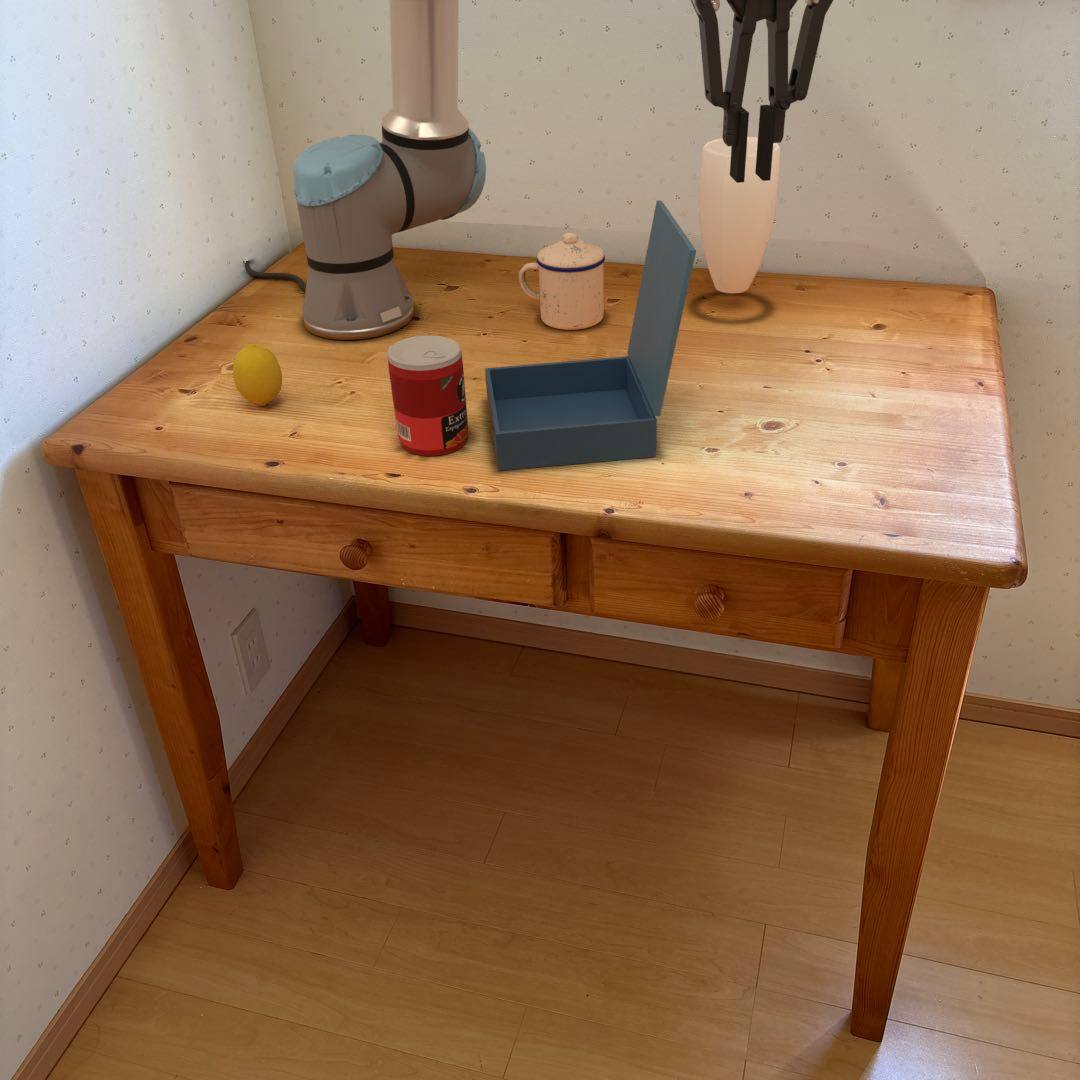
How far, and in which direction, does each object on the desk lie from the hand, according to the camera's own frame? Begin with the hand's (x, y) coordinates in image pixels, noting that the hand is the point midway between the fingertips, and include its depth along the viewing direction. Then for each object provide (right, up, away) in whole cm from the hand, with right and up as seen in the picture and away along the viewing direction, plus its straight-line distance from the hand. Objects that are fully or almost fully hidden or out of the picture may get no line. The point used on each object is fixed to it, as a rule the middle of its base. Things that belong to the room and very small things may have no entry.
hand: (749, 177), depth 104 cm
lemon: (-54, -20, +22) cm, 62 cm away
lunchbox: (-18, -24, +14) cm, 33 cm away
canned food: (-33, -25, +13) cm, 43 cm away
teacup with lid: (-18, -6, +40) cm, 44 cm away
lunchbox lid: (-9, -11, +7) cm, 16 cm away
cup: (+5, -4, +41) cm, 41 cm away
